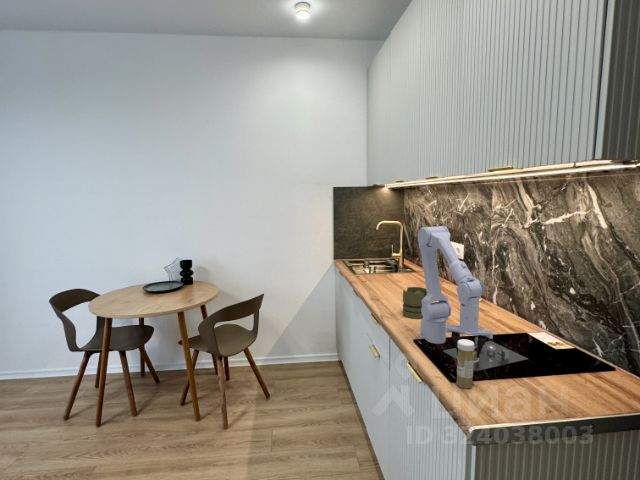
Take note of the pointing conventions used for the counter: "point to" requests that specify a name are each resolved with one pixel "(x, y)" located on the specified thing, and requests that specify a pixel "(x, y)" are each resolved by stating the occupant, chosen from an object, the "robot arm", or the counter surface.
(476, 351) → the cap
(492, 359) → the base
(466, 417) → the counter surface
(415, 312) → the piston
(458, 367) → the sprinkles bottle
